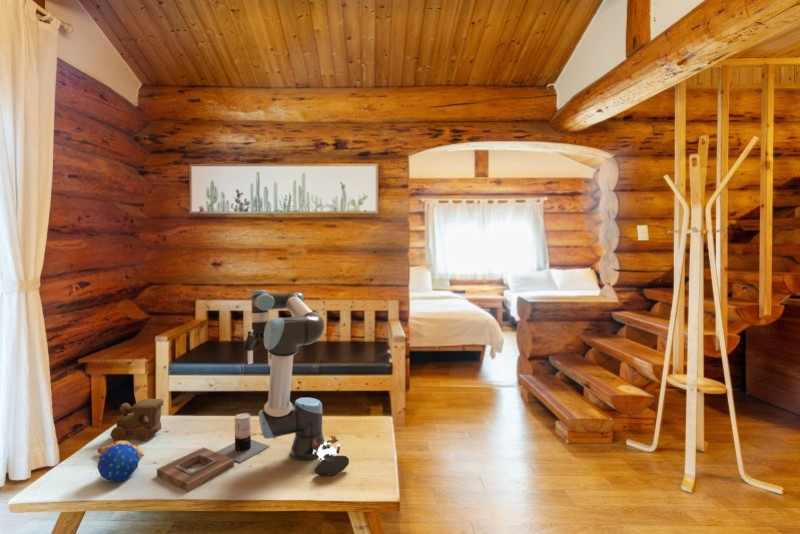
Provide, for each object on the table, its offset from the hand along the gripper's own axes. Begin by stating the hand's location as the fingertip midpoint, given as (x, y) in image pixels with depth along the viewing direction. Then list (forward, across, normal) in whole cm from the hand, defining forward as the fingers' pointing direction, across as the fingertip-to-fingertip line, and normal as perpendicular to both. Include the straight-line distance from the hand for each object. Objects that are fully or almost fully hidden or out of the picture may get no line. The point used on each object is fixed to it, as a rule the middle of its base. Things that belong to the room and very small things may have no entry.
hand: (260, 364), depth 200 cm
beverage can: (+34, -6, +17) cm, 38 cm away
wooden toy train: (+31, +48, +31) cm, 65 cm away
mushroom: (+35, +21, +54) cm, 68 cm away
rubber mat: (+34, -6, +17) cm, 39 cm away
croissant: (+33, +36, +45) cm, 66 cm away
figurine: (+38, -47, +10) cm, 61 cm away
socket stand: (+36, -2, +38) cm, 52 cm away
